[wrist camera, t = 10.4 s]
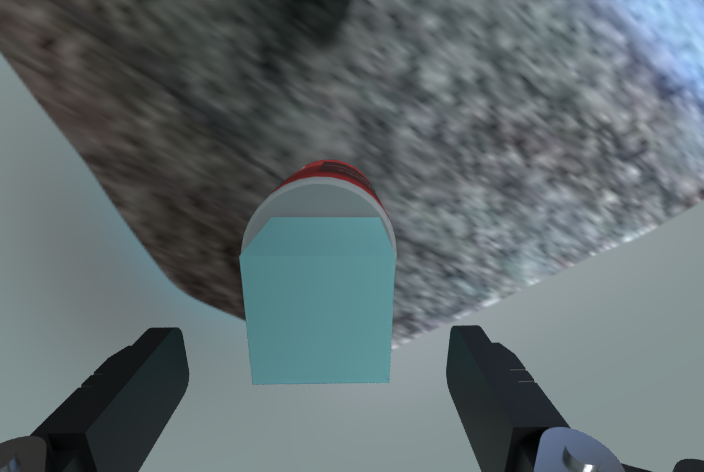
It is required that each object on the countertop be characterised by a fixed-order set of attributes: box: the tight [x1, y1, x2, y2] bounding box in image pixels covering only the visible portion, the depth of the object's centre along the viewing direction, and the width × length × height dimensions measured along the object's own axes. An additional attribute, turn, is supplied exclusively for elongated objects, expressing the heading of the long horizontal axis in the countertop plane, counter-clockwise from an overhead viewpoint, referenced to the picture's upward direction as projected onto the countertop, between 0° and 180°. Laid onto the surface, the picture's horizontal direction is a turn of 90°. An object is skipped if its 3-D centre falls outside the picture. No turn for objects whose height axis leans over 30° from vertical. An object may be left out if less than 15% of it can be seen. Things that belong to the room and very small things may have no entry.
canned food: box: [241, 160, 397, 267], centre depth 21 cm, size 8×8×11 cm
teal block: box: [239, 217, 395, 384], centre depth 14 cm, size 5×5×5 cm
